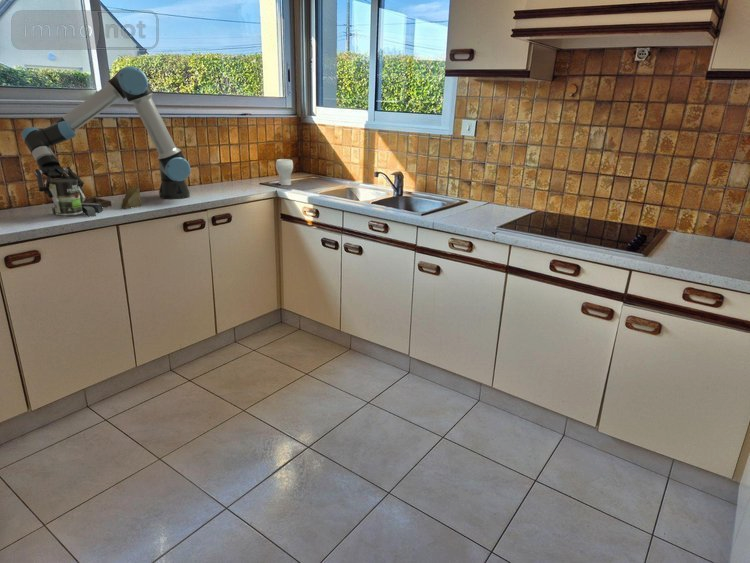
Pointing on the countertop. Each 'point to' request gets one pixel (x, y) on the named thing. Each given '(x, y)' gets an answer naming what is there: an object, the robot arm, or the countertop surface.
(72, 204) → the coffee can
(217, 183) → the countertop surface
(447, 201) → the countertop surface
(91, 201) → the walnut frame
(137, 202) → the rock
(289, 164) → the cup
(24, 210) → the countertop surface
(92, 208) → the dark grey branched bar
